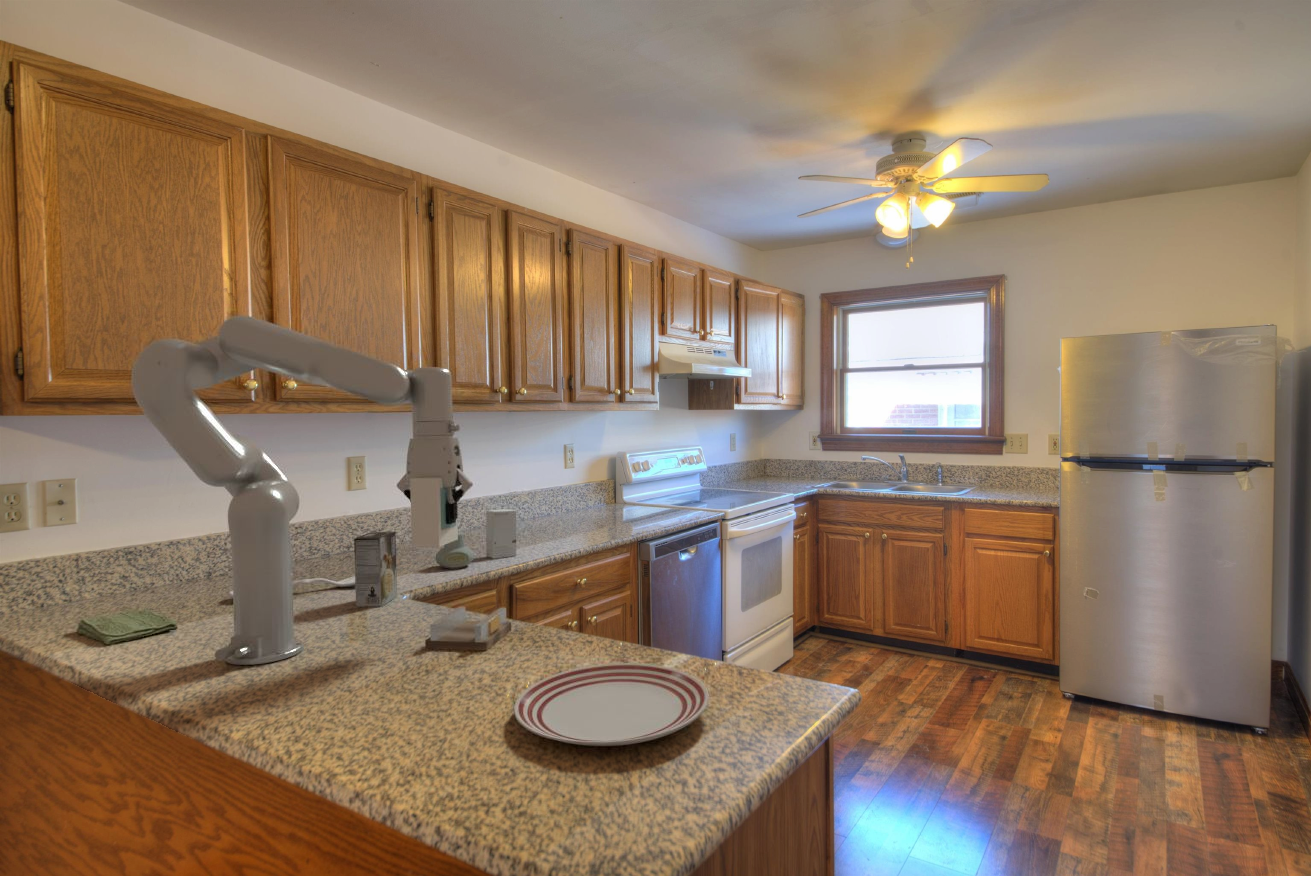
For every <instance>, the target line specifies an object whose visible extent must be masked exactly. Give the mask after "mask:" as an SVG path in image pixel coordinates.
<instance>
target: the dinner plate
mask: <svg viewBox="0 0 1311 876" xmlns="http://www.w3.org/2000/svg"><path fill="white" fill-rule="evenodd" d="M709 703H710V694H709V691H708V688H707V686H706V685H705V684H704V683H703V682H702V681H701V680H699V679H698V678H696V677H694V676H693V675H691V674H689V673H686V672H684V671H682V670H679V669H675V668H671V667H667V666H662V665H656V664H649V663H636V662H635V663H634V662H630V663H629V662H627V663H625V662H623V663H618V662H617V663H605V664H603V663H602V664H595V665H588V666H583V667H577V668H573V669H569V670H566V671H561V672H558V673H555V674H553V675H550V676H548V677H545V678H543V679H540V680H538V681H537V682H535V683H533V684H531V685H530V686H529V687H528V688H525V690H523V691H522V692H521V694H519V696H518V697H517V699H516V701H515V703H514V705H513V712H514V716H515V719H516V721H517V722H518V723H519V724H520V725H521V726H522V727H523V728H525V729H526V730H527V731H529V732H531V733H532V734H535V735H537V736H540V737H542V738H546V739H551V740H552V741H554V740H555V741H558V742H562V743H566V744H571V745H572V744H573V745H578V746H579V745H581V746H591V747H593V746H594V747H615V746H625V745H626V746H627V745H633V744H640V743H645V742H649V741H653V740H657V739H659V738H663V737H666V736H668V735H671V734H674V733H675V732H678V731H680V730H682V729H684V728H685V727H687V726H689V725H691V723H693V722H694V721H696V720H697V719H698V718H700V716H701V715H702V714H703V713H704V712H705V711H706V709H707V707H708V705H709Z"/></svg>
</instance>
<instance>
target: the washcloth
mask: <svg viewBox="0 0 1311 876" xmlns="http://www.w3.org/2000/svg"><path fill="white" fill-rule="evenodd" d="M176 629H177V630H178V629H179V626H178V624H177V621H176V620H174V619H173V618H172V617H170V616H168V615H164V614H160V613H156V612H154V611H153V610H148V609H138V610H134V611H128V612H120V613H118V614H113V615H106V616H103V615H102V616H97V617H90V618H84V619H81V620H80V621H79V623H78V626H77V628H76V632H77V633H78V634H80V635H83V636H84V637H86V636H88V637H87V638H89V639H92V638H93V640H95V639H96V640H95V641H99V642H101V643H104V644H105V645H109V644H113V643H117V642H120V641H125V642H127V641H126V640H129V641H131V640H130V639H133V640H136V639H137V638H138V639H142V638H141V637H143V638H145V637H144V636H146V637H149V635H150V636H152V634H153V635H156V634H155V633H158V634H162V633H166V632H165V631H167V632H170V631H169V630H172V631H176ZM161 632H162V633H161ZM138 639H137V640H138ZM117 644H118V643H117ZM113 645H114V644H113Z"/></svg>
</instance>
